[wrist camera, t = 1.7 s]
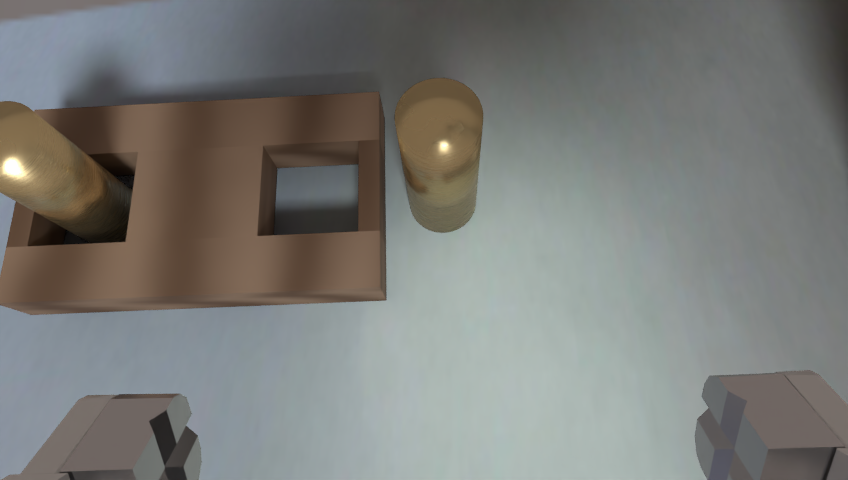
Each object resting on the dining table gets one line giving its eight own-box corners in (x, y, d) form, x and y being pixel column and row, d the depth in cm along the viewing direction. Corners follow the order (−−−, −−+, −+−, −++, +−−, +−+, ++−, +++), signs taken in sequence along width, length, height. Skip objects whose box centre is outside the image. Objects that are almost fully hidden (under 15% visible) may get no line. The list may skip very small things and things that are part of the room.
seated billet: (147, 186, 38) (46, 99, 28) (139, 246, 37) (30, 175, 27) (85, 188, 38) (-36, 103, 29) (75, 248, 37) (-56, 180, 27)
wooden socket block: (384, 117, 39) (379, 91, 36) (386, 300, 35) (380, 287, 32) (64, 134, 39) (34, 109, 37) (31, 314, 36) (-6, 303, 33)
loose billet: (473, 170, 37) (480, 75, 28) (477, 231, 36) (485, 153, 26) (409, 173, 37) (393, 80, 28) (410, 234, 36) (395, 158, 27)
